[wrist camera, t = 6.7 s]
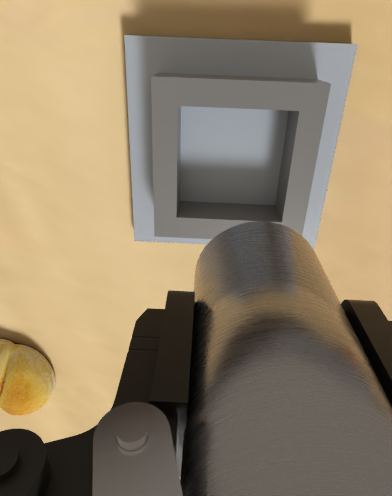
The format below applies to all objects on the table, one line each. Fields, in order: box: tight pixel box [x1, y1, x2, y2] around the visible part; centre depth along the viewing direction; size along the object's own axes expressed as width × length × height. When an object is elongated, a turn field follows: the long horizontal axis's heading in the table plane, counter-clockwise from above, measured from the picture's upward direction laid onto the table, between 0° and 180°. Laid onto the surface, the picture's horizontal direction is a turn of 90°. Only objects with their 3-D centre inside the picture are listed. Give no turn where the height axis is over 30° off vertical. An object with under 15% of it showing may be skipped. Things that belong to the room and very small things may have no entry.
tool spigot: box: [180, 221, 392, 496], centre depth 8 cm, size 4×4×10 cm
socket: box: [124, 35, 357, 249], centre depth 25 cm, size 14×14×4 cm
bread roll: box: [0, 339, 56, 415], centre depth 36 cm, size 8×9×4 cm
